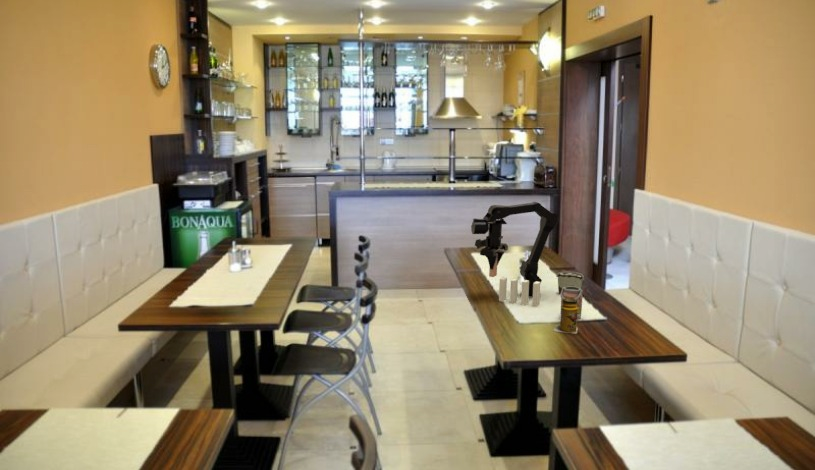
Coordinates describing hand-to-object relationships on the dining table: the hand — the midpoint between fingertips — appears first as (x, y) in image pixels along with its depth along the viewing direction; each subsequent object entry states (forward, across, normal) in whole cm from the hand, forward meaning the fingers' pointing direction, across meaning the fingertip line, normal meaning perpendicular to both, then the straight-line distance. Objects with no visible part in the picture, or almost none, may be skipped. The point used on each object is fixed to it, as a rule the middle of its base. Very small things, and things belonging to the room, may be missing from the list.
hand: (493, 268), depth 275 cm
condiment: (+13, +28, +41) cm, 51 cm away
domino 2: (+13, +3, +6) cm, 15 cm away
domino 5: (+13, +2, +21) cm, 25 cm away
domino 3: (+13, +3, +11) cm, 17 cm away
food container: (+13, -23, +29) cm, 39 cm away
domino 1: (+4, 0, 0) cm, 4 cm away
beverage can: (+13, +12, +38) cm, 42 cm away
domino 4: (+13, +2, +16) cm, 21 cm away
